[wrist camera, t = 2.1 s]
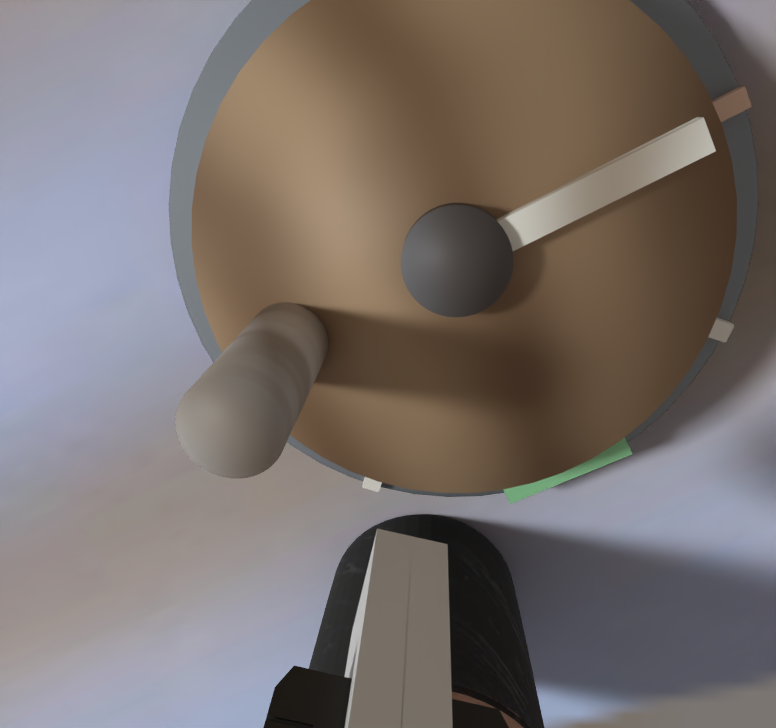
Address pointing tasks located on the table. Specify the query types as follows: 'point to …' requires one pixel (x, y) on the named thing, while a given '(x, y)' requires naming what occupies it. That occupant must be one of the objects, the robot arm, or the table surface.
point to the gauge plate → (659, 3)
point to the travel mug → (467, 618)
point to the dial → (455, 240)
